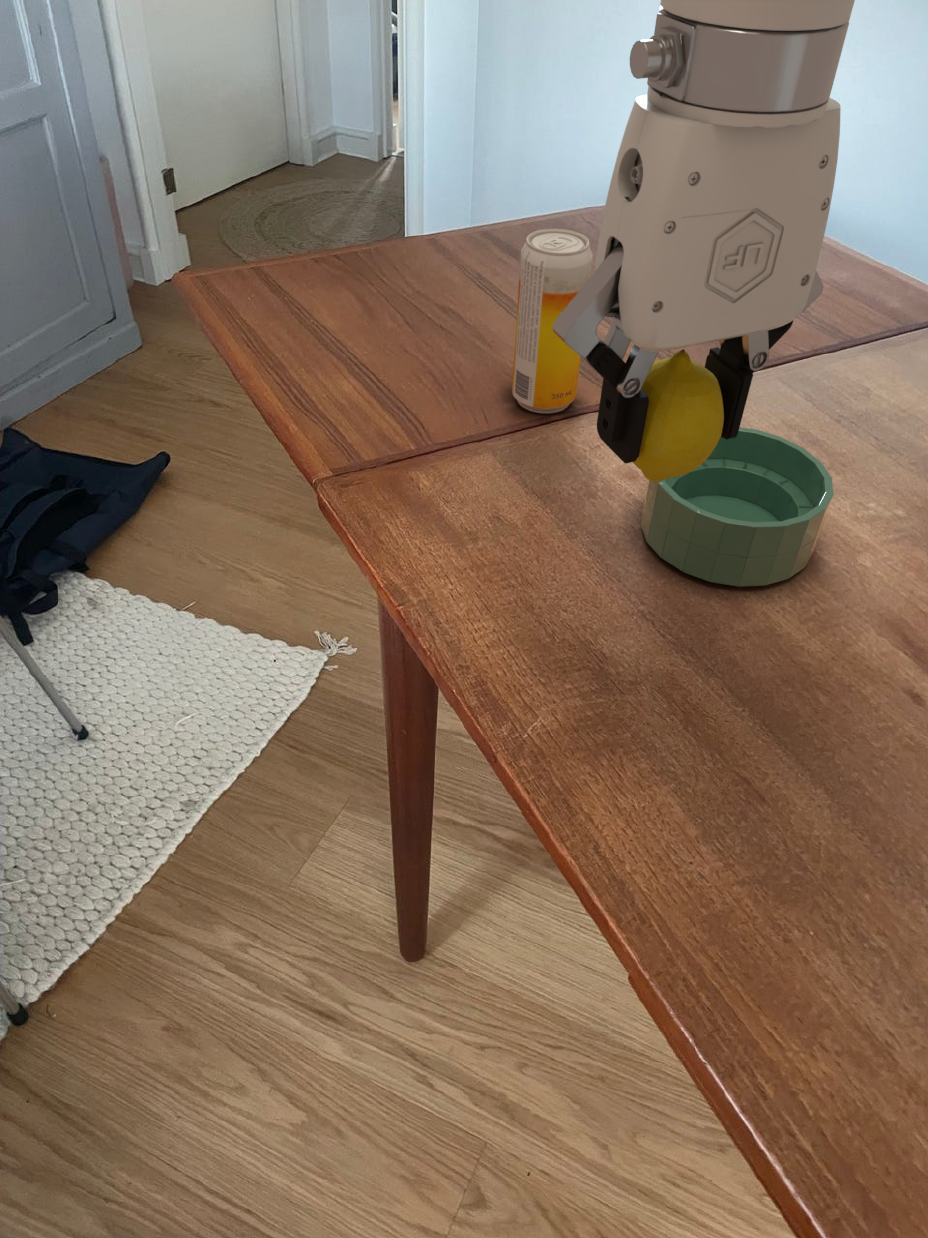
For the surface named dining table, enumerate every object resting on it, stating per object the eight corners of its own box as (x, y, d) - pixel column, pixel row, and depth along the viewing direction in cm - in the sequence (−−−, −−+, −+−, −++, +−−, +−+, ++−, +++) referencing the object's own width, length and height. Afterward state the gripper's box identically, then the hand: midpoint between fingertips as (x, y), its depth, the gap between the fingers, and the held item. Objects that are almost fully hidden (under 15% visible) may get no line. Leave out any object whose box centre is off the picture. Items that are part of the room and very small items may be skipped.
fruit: (707, 514, 51) (741, 382, 45) (605, 500, 52) (627, 369, 46) (707, 458, 55) (738, 330, 49) (613, 447, 55) (633, 319, 50)
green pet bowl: (846, 566, 71) (871, 502, 67) (700, 609, 67) (718, 544, 63) (744, 474, 80) (761, 413, 76) (610, 507, 76) (620, 444, 72)
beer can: (588, 399, 89) (608, 240, 78) (547, 423, 85) (563, 260, 75) (539, 377, 92) (552, 221, 81) (498, 399, 88) (506, 239, 78)
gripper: (609, 106, 34) (560, 510, 46) (965, 70, 39) (836, 441, 51) (518, 57, 39) (496, 434, 51) (844, 31, 44) (753, 378, 56)
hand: (667, 434), depth 51 cm, fingers closed on fruit, 5 cm apart
